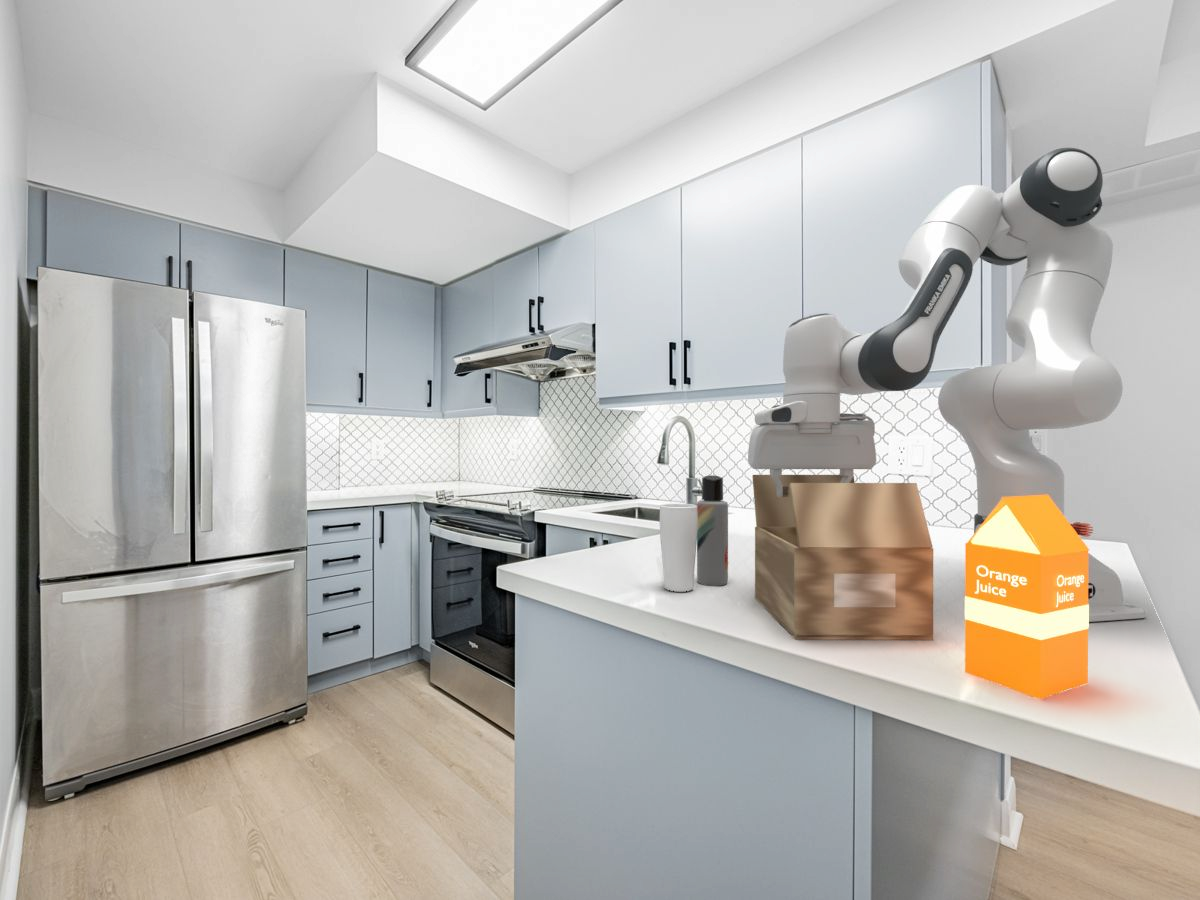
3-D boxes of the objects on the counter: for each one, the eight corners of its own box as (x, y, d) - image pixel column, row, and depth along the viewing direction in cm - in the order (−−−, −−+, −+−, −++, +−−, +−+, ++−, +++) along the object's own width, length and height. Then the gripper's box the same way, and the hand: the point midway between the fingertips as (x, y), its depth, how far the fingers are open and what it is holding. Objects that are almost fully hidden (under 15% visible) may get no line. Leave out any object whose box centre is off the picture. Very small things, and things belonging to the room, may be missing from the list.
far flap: (860, 526, 93) (858, 527, 93) (853, 474, 95) (852, 475, 96) (757, 526, 93) (756, 527, 94) (753, 474, 96) (752, 475, 96)
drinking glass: (674, 582, 104) (674, 502, 104) (705, 589, 99) (705, 505, 99) (651, 589, 99) (651, 505, 99) (683, 596, 94) (683, 508, 94)
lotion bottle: (725, 579, 107) (726, 475, 107) (729, 586, 101) (729, 476, 101) (696, 578, 107) (696, 475, 107) (698, 585, 102) (698, 476, 102)
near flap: (914, 484, 77) (916, 482, 76) (930, 548, 73) (932, 547, 72) (789, 484, 77) (790, 482, 76) (798, 548, 73) (800, 547, 73)
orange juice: (963, 671, 63) (963, 494, 63) (1011, 659, 66) (1011, 492, 66) (1042, 700, 56) (1042, 500, 55) (1090, 684, 59) (1091, 497, 59)
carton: (862, 598, 93) (862, 526, 93) (933, 640, 73) (933, 548, 73) (754, 598, 93) (754, 526, 93) (796, 639, 73) (796, 548, 73)
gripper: (865, 414, 95) (865, 495, 95) (745, 414, 95) (745, 495, 95) (883, 412, 89) (883, 498, 89) (755, 412, 89) (755, 498, 89)
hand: (811, 497), depth 92 cm, fingers open, 8 cm apart
